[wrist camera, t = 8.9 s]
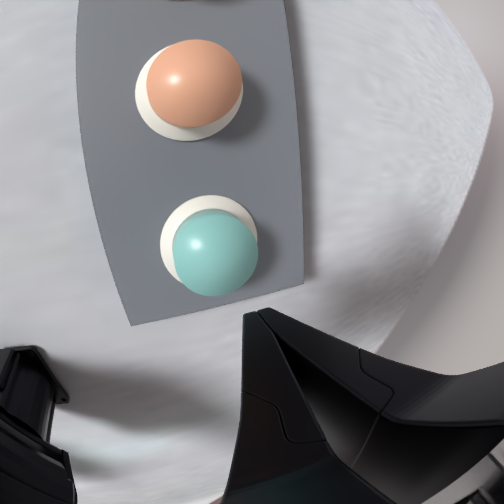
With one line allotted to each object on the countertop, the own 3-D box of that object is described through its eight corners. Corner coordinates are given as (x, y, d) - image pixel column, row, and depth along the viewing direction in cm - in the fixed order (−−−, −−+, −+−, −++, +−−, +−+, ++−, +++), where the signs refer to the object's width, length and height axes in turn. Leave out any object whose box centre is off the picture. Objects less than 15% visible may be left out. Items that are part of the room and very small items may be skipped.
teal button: (251, 272, 16) (261, 285, 14) (180, 288, 15) (184, 304, 13) (244, 201, 14) (254, 209, 13) (165, 217, 13) (166, 226, 12)
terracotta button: (236, 123, 12) (246, 120, 11) (151, 135, 11) (151, 133, 10) (228, 47, 11) (237, 37, 9) (144, 56, 10) (143, 45, 8)
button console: (287, 267, 20) (305, 285, 18) (132, 303, 17) (131, 328, 15) (257, -50, 10) (271, -68, 8) (94, -37, 7) (88, -58, 5)
